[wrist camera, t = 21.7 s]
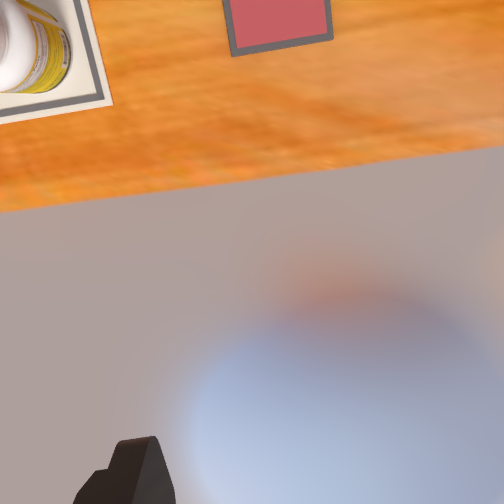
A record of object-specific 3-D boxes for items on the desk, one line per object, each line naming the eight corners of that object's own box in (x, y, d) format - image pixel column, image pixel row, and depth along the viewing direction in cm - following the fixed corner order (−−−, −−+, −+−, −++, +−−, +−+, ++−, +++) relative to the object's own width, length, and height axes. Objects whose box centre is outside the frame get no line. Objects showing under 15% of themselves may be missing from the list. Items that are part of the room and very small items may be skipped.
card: (78, -37, 33) (77, -38, 33) (113, 104, 37) (112, 104, 36) (-55, -14, 33) (-58, -15, 33) (-9, 125, 37) (-11, 126, 36)
